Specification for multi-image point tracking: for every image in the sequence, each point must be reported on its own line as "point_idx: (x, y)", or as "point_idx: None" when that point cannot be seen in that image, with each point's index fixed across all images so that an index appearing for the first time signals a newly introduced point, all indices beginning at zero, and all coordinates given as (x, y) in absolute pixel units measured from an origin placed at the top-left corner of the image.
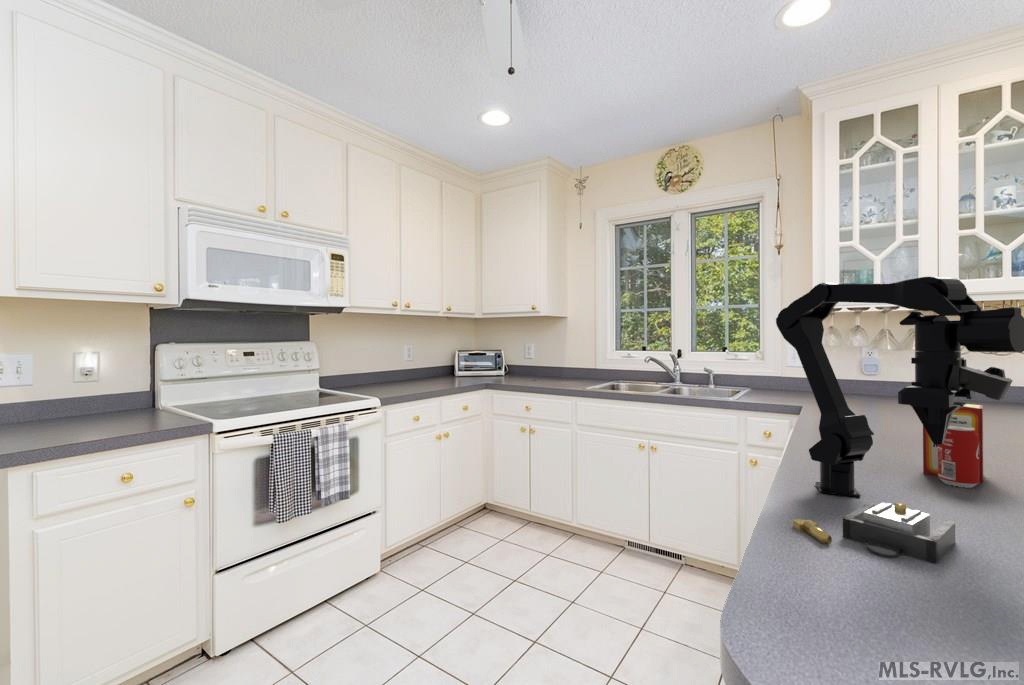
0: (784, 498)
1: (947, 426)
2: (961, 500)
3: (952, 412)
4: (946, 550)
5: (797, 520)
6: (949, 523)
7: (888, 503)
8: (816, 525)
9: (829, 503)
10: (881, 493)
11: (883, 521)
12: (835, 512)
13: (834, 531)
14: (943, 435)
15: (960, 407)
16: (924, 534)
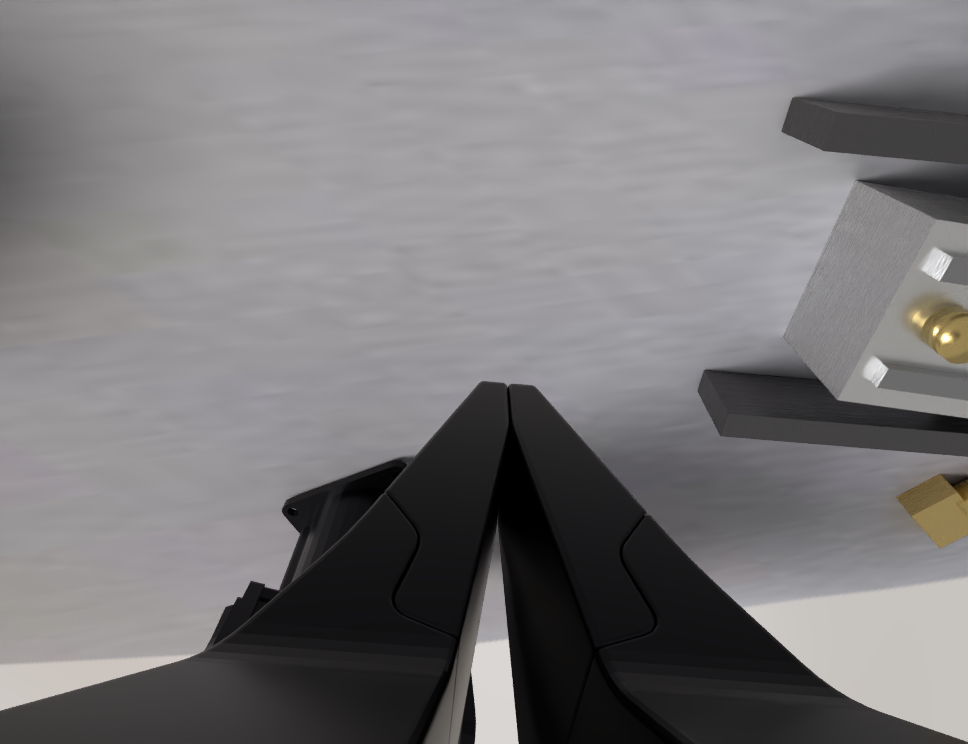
0: None
1: (473, 487)
2: (20, 144)
3: (376, 668)
4: (963, 114)
5: (941, 538)
6: (873, 133)
7: (886, 380)
8: (957, 492)
9: None
10: (255, 415)
11: None
12: (671, 478)
13: None
14: (574, 435)
15: (156, 723)
16: (954, 206)
